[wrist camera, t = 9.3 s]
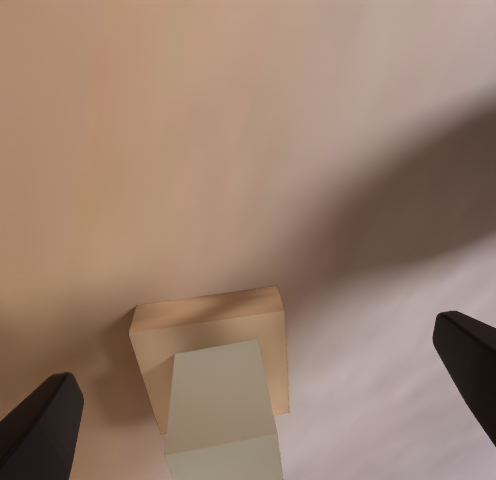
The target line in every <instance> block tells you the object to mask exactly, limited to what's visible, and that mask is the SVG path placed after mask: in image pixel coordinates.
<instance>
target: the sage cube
mask: <svg viewBox="0 0 496 480" xmlns="http://www.w3.org/2000/svg"><path fill="white" fill-rule="evenodd" d="M165 458H166V461H167V464H168V466H169V469H170V471H171V474H172V476H173V479H174V480H283V473H282V466H281V458H280V451H279V443H278V435H277V430H276V425H275V420H274V416H273V411H272V406H271V401H270V396H269V391H268V387H267V382H266V377H265V372H264V367H263V362H262V358H261V353H260V348H259V343H258V339H255V340H250V341H244V342H239V343H233V344H227V345H222V346H216V347H211V348H205V349H200V350H194V351H189V352H183V353H178V354H175V358H174V368H173V378H172V387H171V397H170V407H169V417H168V427H167V436H166V446H165Z"/></svg>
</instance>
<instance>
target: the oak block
mask: <svg viewBox="0 0 496 480" xmlns="http://www.w3.org/2000/svg"><path fill="white" fill-rule="evenodd" d="M128 334H129V337H130V340H131V343H132V346H133V349H134V352H135V355H136V359H137V362H138V365H139V368H140V371H141V374H142V377H143V380H144V384H145V387H146V390H147V393H148V396H149V399H150V402H151V405H152V409H153V412H154V415H155V418H156V421H157V424H158V427H159V430H160V434H164V433H167V427H168V417H169V407H170V397H171V387H172V378H173V368H174V358H175V354H178V353H183V352H189V351H194V350H200V349H205V348H211V347H216V346H222V345H227V344H233V343H239V342H244V341H250V340H255V339H258V343H259V348H260V353H261V358H262V362H263V367H264V372H265V377H266V382H267V387H268V391H269V396H270V401H271V406H272V411H273V415H279V414H286V413H290V406H289V384H288V361H287V339H286V317H285V309H284V306H283V303H282V300H281V297H280V294H279V291H278V288H277V286H272V287H265V288H258V289H251V290H244V291H237V292H229V293H222V294H215V295H208V296H201V297H194V298H187V299H180V300H172V301H165V302H158V303H151V304H144V305H137V306H136V309H135V313H134V316H133V320H132V323H131V326H130V330H129V333H128Z"/></svg>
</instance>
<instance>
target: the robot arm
mask: <svg viewBox="0 0 496 480" xmlns="http://www.w3.org/2000/svg"><path fill="white" fill-rule="evenodd" d="M433 344H434V347H435V349H436V351H437V352H438V354H439V356H440V358H441V360H442V361H443V363H444V365H445V367H446V369H447V370H448V372H449V374H450V376H451V378H452V379H453V381H454V383H455V385H456V387H457V388H458V390H459V392H460V394H461V395H462V397H463V399H464V401H465V402H466V404H467V405H468V407H469V408H470V410H471V412H472V413H473V415H474V416H475V417H476V419H477V420H478V422H479V423H480V425H481V426H482V428H483V429H484V431H485V432H486V433H487V435H488V436H489V438H490V439H491V441H492V442H493V444H494V445H495V447H496V328H494V327H492V326H490V325H487V324H485V323H483V322H481V321H478V320H476V319H474V318H471V317H469V316H467V315H465V314H462V313H460V312H458V311H447V312H441V313H439V314H438V315H437V317H436V321H435V327H434V332H433ZM83 405H84V398H83V394H82V392H81V390H80V388H79V386H78V383H77V381H76V379H75V377H74V375H73V374H72V373H70V372H64V373H58V374H53V375H51V376H50V377H49V378H47V379H46V380H45V381H44V382H43V383H42V384H41V385H40V386H39V387H38V388H36V389H35V390H34V391H33V392H32V393H31V394H30V395H29V396H28V397H27V398H25V399H24V400H23V401H22V402H21V403H20V404H19V405H18V406H17V407H16V408H14V409H13V410H12V411H11V412H10V413H9V414H8V415H7V416H6V417H5V418H3V419H2V420H1V421H0V480H69V477H70V473H71V468H72V463H73V458H74V453H75V448H76V442H77V437H78V432H79V426H80V421H81V416H82V410H83Z"/></svg>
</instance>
